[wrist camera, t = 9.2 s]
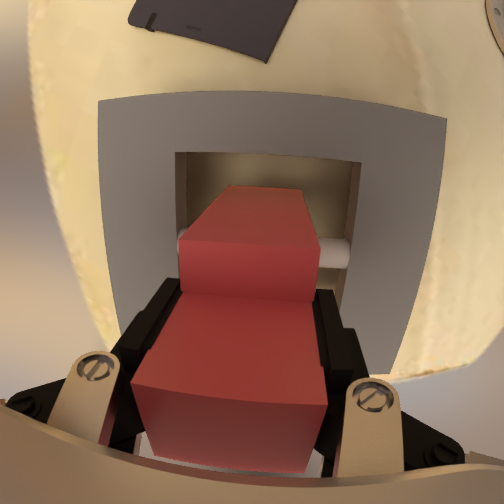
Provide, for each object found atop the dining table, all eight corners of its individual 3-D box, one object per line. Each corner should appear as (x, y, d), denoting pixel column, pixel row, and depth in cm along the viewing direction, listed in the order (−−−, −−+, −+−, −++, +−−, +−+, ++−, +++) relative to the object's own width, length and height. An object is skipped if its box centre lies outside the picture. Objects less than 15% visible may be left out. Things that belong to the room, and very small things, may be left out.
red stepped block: (300, 189, 17) (346, 337, 5) (291, 292, 19) (294, 496, 7) (228, 185, 17) (113, 314, 5) (227, 287, 20) (164, 480, 8)
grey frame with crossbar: (387, 120, 22) (446, 118, 12) (361, 300, 28) (389, 373, 18) (163, 108, 23) (98, 100, 14) (168, 285, 29) (125, 351, 20)
